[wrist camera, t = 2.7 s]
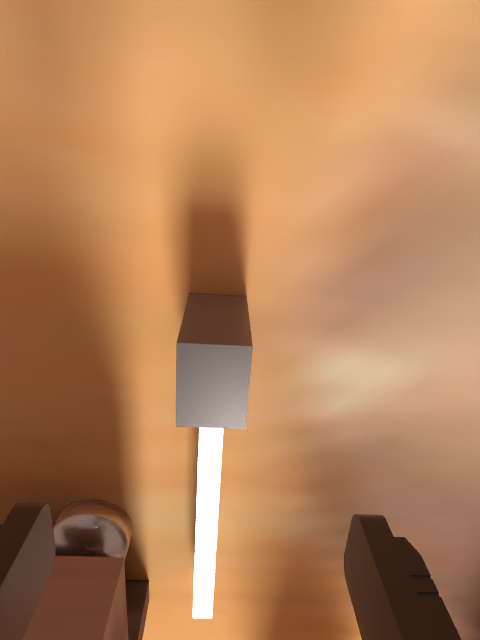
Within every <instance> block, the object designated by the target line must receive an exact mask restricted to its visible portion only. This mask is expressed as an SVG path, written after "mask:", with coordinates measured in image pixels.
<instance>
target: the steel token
mask: <svg viewBox="0 0 480 640" xmlns="http://www.w3.org/2000/svg"><path fill="white" fill-rule="evenodd" d="M53 530H54V538H55V546H56V551H55V556H82V557H121V558H124V562H125V559H126V555H127V551H128V548H129V544H130V540H131V536H132V531H133V528H132V523H131V521H130V519H129V517H128V516H127V514H126V513H125V512H124V511H123V510H121V509H120V508H119V507H117V506H115V505H113V504H111V503H109V502H105V501H101V500H93V499H91V500H81V501H77V502H74V503H72V504H70V505H68V506H67V507H66V508H64V509H63V510H62V512H61V513H60V515H59V517H58V519H57V521H56V523H55V525H54V527H53Z"/></svg>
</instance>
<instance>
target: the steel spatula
mask: <svg viewBox="0 0 480 640" xmlns="http://www.w3.org/2000/svg"><path fill="white" fill-rule="evenodd" d="M252 347H253V346H252V338H251V330H250V321H249V313H248V305H247V296H230V295H211V294H192V293H189V297H188V301H187V305H186V309H185V313H184V316H183V320H182V324H181V328H180V332H179V336H178V340H177V358H176V427H195V428H199V452H198V481H197V510H196V539H195V569H194V598H193V618H212V606H213V589H214V573H215V556H216V540H217V523H218V507H219V490H220V473H221V457H222V440H223V429H246V417H247V406H248V394H249V382H250V370H251V358H252Z"/></svg>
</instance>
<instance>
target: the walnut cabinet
mask: <svg viewBox="0 0 480 640" xmlns="http://www.w3.org/2000/svg"><path fill="white" fill-rule="evenodd" d="M148 603H149V581H132V580H125V568H124V558H121V557H82V556H55V559H54V564H53V568H52V571H51V574H50V576H49V578H48V581H47V583H46V585H45V588H44V590H43V593H42V595H41V597H40V600H39V602H38V604H37V607H36V609H35V611H34V614H33V616H32V618H31V621H30V623H29V626H28V628H27V630H26V633H25V635H24V637H23V640H142V637H143V631H144V626H145V620H146V615H147V609H148Z"/></svg>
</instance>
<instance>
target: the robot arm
mask: <svg viewBox="0 0 480 640" xmlns="http://www.w3.org/2000/svg"><path fill="white" fill-rule="evenodd" d="M55 551H56V546H55V538H54V530H53V522H52V515H51V508H50V506H49V505H48V504H25V503H19V504H17V505H15V507H14V508H13V509H12V511H11V513H10V514H9V516H8V517H7V519H6V521H5V522H4V524H3V525H0V640H23V637H24V635H25V633H26V630H27V628H28V626H29V623H30V621H31V618H32V616H33V614H34V611H35V609H36V607H37V604H38V602H39V600H40V597H41V595H42V593H43V590H44V588H45V585H46V583H47V581H48V578H49V576H50V574H51V571H52V568H53V564H54V559H55ZM344 572H345V578H346V583H347V586H348V590H349V594H350V597H351V601H352V605H353V608H354V612H355V615H356V619H357V623H358V626H359V630H360V634H361V637H362V640H461V638H460V636H459V634H458V632H457V630H456V628H455V626H454V623H453V621H452V619H451V617H450V615H449V613H448V611H447V609H446V607H445V605H444V603H443V600H442V598H441V597H439V592H438V590H437V588H436V586H435V584H434V582H433V580H431V577H430V576H431V575H430V573H429V571H428V569H427V567H426V565H425V563H424V561H423V559H422V557H421V555H420V554H419V553H418V552H417V550H416V549H415V548H414V547H413V546H412V545H411V544H410V543H409V542H408V541H407V539H406V538H405V537H393V535H392V533H391V530H390V528H389V526H388V523H387V521H386V519H385V517H384V516H382V515H363V514H354V515H353V517H352V520H351V525H350V530H349V535H348V539H347V544H346V549H345V554H344Z"/></svg>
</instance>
